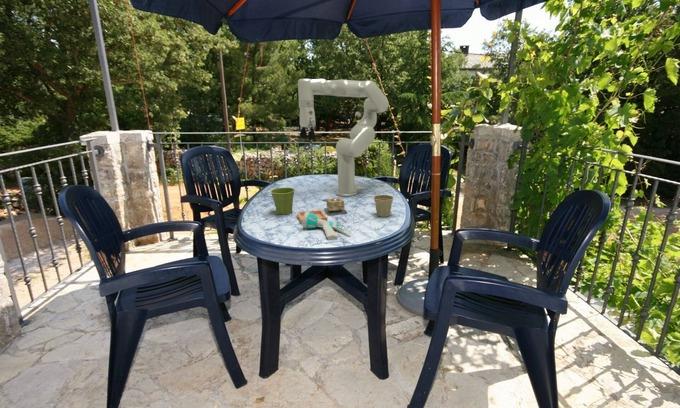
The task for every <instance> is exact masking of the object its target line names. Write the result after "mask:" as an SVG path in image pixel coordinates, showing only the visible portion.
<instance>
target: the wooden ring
mask: <svg viewBox="0 0 680 408" xmlns="http://www.w3.org/2000/svg"><path fill="white" fill-rule="evenodd" d="M334 198H335V197H331V198H330V197H329V198H326V200H325V201H326V208H328V209H329V210H330V211H333V210H342V209H345V200H344V199H343V198H341V197H336V198H337V199H338V201H333V199H334Z"/></svg>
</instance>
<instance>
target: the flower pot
mask: <svg viewBox="0 0 680 408" xmlns="http://www.w3.org/2000/svg"><path fill="white" fill-rule="evenodd" d="M394 199H395V197H394V196H393V195H388V194H377V195H375V196H373V201H374V203H375V211H376V216H377V217H381V218H387V217H390V215H391V212H392V204H393V200H394Z"/></svg>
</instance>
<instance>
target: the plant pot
mask: <svg viewBox="0 0 680 408" xmlns="http://www.w3.org/2000/svg"><path fill="white" fill-rule="evenodd" d="M295 191H296V189H295V188H294V187H276V188H274V189H271V190H270V193H271V197H272V198H273V202H274V207H275V210H276V214H278V215H283V216H285V215H290V214H291V213H292V212H293V204H294V203H293V202H294V195H295Z"/></svg>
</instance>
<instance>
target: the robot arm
mask: <svg viewBox="0 0 680 408" xmlns="http://www.w3.org/2000/svg"><path fill="white" fill-rule="evenodd" d="M297 91H298V92H297V93H298V108H299V130H300V138H301V139H306V138H307V137H308V138H307V139H308V140H309V141H312V140H315V137H316V135H315V129H316V113H315V107H314V106H315V105H314V96H315V95H318V96H319V95H320V96H335V97H348V98H349V97H350V98H365V100H364V102H363V116H362V117H361V119H360V120H359V121H358V122H357V123H356V124H355V125H354V126H353V127H352V128H351V130H350V132H349V138H348V137H347V138H346V137H345V138H340V139H339V140H338V141H337V143H336V145H335V153H336V157H337V158H336V159H337V190H336V191H335V195H337V196H339V197H353V196H356V195H357V194H358V191H363V189H364V188H363V186H360V185H357V186H356V185H355V181H356V180H355V179H356V178H355V171H356V170H355V167H356V166H355V158H358V157H360V156H361V155H362V154H363V153H364V152H365V151H366V149H368V148H369V146H370V145H371V144H372V143H373V142H374V140H375V137H376V131H375V128H374V127H375V126H376V124H377V121H378V120H377V119H378V117H377V113H380V114H381V113H385V112H386V111H387V110H388V109H389V100H388V99H387V97H386V95H385V93H383V91H382V89H380V87H379V86H378V85H377V83H375V82H374V81H372V80H351V79H350V80H349V79H334V80H327V79H325V78H300V79H298V81H297ZM307 129H308V131H307ZM307 134H308V135H307Z"/></svg>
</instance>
